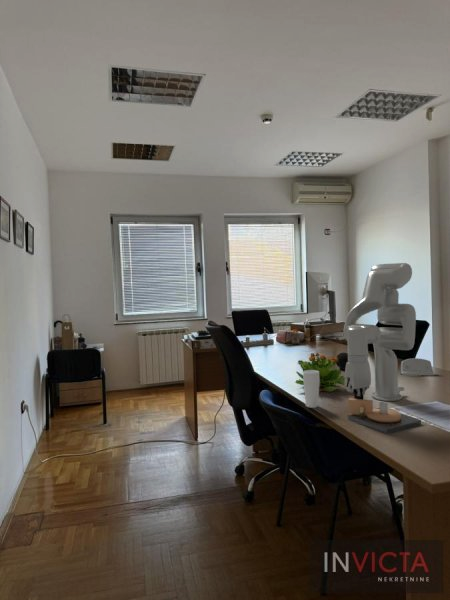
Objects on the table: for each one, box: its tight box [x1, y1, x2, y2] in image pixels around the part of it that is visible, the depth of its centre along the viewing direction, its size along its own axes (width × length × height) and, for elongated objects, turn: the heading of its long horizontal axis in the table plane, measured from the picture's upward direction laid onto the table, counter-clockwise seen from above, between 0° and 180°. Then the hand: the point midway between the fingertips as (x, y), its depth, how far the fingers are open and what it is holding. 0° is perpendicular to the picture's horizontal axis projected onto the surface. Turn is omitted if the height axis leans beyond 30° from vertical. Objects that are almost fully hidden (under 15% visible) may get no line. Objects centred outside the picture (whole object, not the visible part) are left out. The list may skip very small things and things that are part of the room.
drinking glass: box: [302, 370, 320, 409], centre depth 171 cm, size 7×7×15 cm
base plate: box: [347, 406, 422, 435], centre depth 150 cm, size 18×18×6 cm
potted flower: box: [294, 352, 345, 393], centre depth 199 cm, size 25×24×18 cm
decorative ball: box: [335, 352, 348, 370], centre depth 241 cm, size 10×10×10 cm
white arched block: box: [400, 357, 435, 377], centre depth 222 cm, size 17×5×10 cm, turn 81°
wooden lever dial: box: [348, 397, 402, 422], centre depth 152 cm, size 12×18×6 cm, turn 63°
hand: (359, 404), depth 158 cm, fingers closed
